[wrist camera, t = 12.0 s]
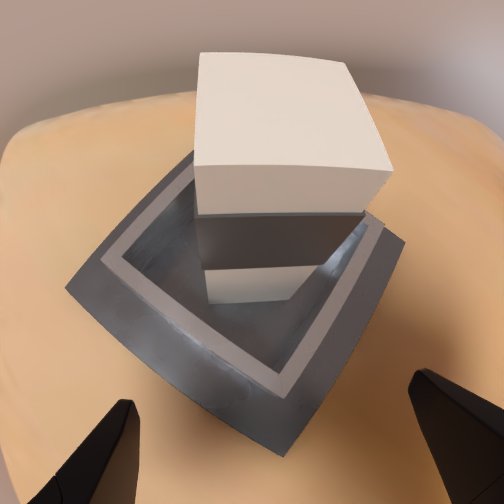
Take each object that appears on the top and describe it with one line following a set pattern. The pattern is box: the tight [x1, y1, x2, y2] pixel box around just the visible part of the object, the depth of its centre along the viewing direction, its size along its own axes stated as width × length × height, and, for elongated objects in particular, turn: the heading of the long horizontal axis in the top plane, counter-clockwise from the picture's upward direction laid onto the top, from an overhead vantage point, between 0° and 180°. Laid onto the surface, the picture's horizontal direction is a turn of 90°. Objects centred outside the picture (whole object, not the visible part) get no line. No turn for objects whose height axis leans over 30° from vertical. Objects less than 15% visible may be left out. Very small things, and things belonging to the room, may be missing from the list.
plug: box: [194, 52, 394, 304], centre depth 13 cm, size 5×5×12 cm
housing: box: [65, 150, 405, 457], centre depth 17 cm, size 16×16×4 cm
